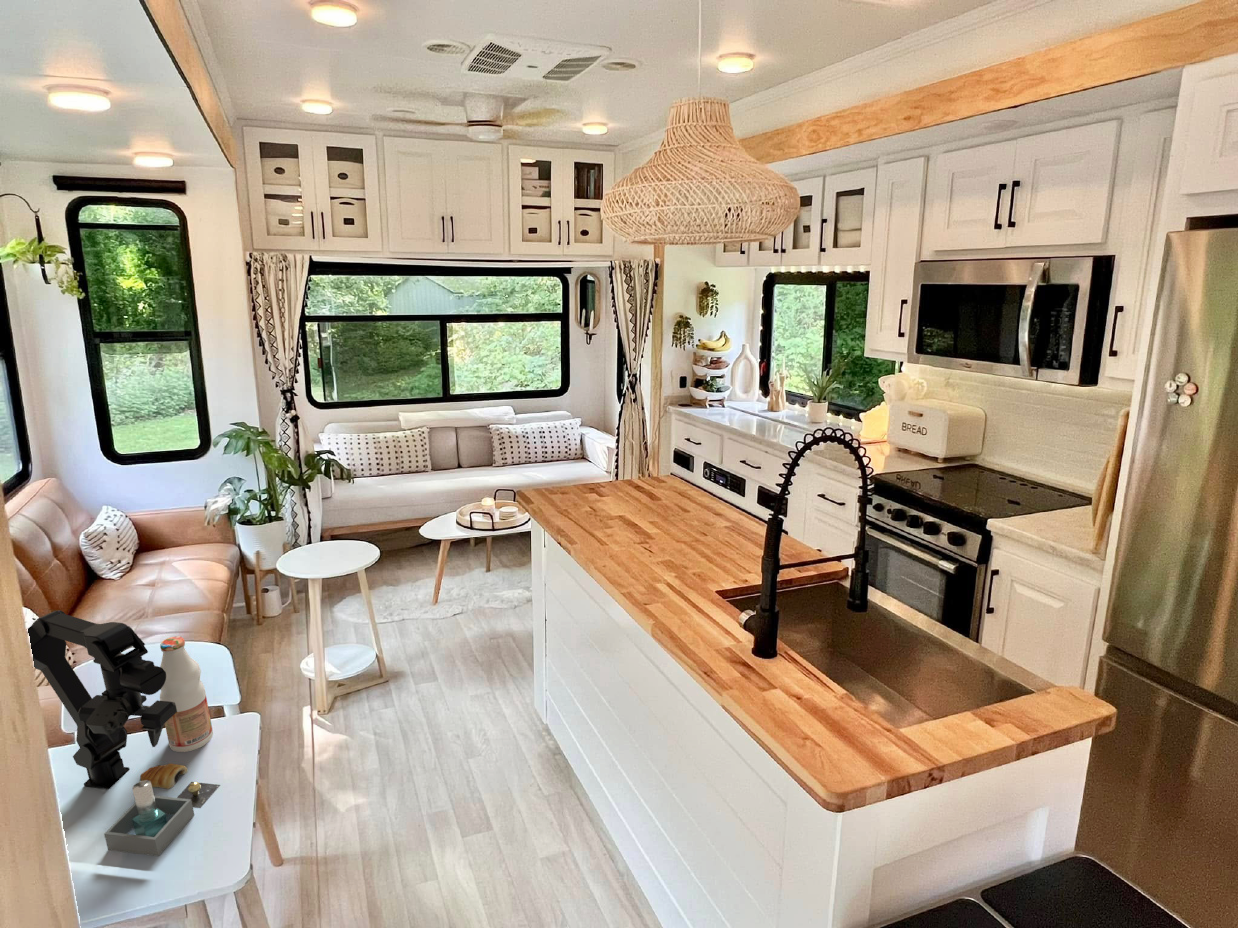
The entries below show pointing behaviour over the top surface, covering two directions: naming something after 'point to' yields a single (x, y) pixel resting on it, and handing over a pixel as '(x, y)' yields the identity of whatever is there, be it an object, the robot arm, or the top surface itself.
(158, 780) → the pastry
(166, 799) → the bin
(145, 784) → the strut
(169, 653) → the fruit juice
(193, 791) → the stud stand
